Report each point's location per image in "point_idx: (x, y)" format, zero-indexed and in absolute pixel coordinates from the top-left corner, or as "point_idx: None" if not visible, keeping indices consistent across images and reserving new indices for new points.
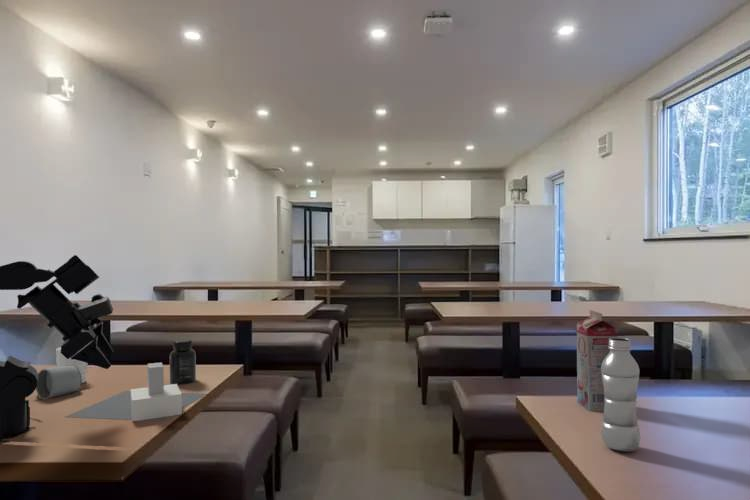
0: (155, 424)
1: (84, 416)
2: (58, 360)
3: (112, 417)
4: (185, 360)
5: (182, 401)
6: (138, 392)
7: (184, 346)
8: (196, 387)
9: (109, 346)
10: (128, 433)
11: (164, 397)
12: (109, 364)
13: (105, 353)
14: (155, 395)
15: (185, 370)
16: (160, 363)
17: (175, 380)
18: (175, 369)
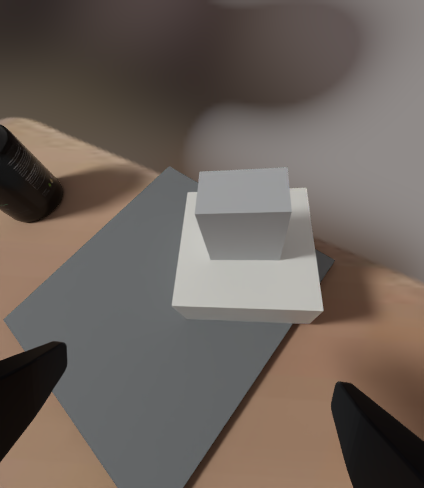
0: (330, 274)
1: (186, 458)
2: None
3: (244, 371)
4: (17, 153)
5: None
6: (227, 285)
7: None
8: (90, 182)
9: (15, 370)
10: (385, 339)
11: (310, 226)
12: (361, 393)
13: (43, 401)
14: (290, 244)
15: (38, 173)
16: (219, 174)
17: (40, 206)
18: (19, 189)
